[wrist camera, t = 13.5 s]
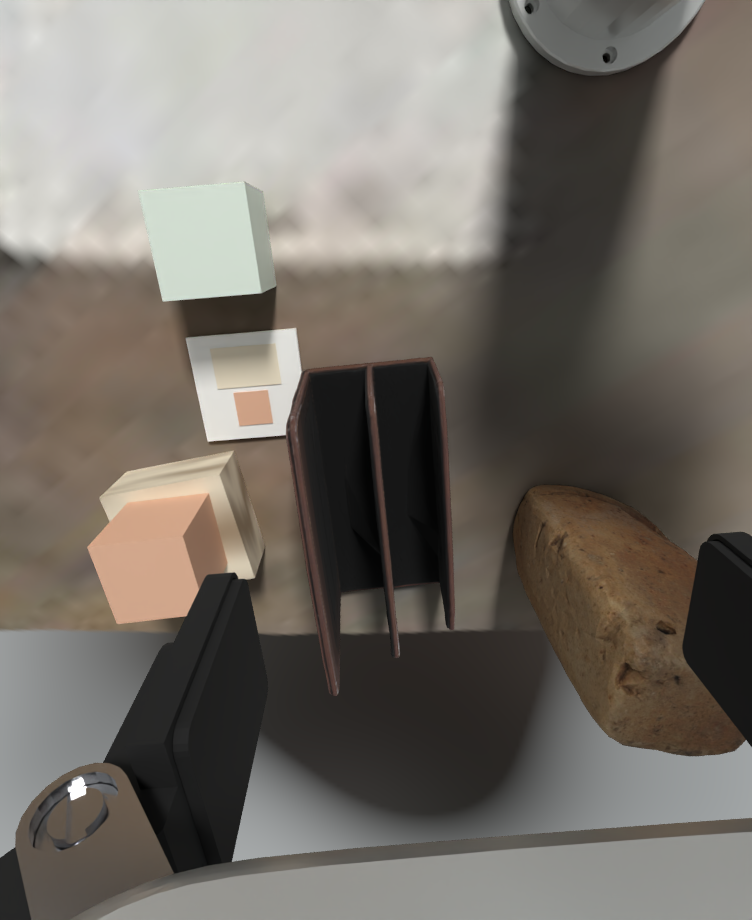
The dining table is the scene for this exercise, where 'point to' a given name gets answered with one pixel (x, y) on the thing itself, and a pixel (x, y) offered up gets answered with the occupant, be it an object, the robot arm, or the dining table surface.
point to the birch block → (198, 478)
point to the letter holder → (371, 488)
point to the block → (618, 618)
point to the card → (245, 382)
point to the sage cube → (209, 240)
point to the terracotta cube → (158, 556)
